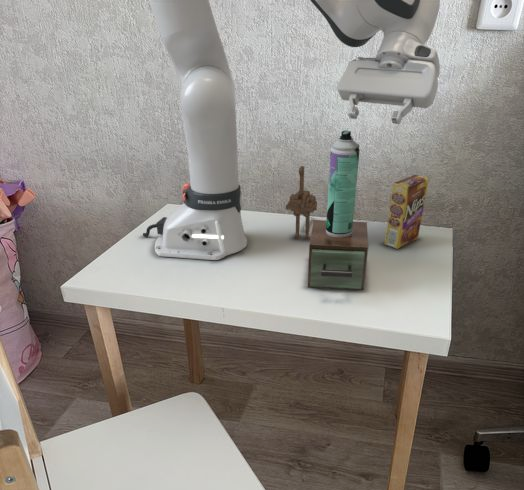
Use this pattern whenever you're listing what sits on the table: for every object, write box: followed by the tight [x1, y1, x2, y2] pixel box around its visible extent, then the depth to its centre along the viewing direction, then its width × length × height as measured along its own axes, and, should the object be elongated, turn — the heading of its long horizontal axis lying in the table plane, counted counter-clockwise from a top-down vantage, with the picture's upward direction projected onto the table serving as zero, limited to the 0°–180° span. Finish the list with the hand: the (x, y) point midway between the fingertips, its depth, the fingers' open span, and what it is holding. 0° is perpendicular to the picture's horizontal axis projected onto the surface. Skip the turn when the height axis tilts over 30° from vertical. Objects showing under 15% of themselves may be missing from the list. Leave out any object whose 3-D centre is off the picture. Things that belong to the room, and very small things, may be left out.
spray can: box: [326, 130, 361, 238], centre depth 105 cm, size 6×6×20 cm
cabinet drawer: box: [310, 249, 365, 289], centre depth 110 cm, size 17×10×8 cm, turn 172°
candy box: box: [384, 174, 430, 250], centre depth 126 cm, size 9×4×15 cm, turn 134°
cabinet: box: [307, 219, 369, 291], centre depth 114 cm, size 14×12×10 cm
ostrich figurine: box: [285, 165, 318, 241], centre depth 132 cm, size 17×7×18 cm, turn 163°
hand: (373, 119), depth 108 cm, fingers open, 8 cm apart
